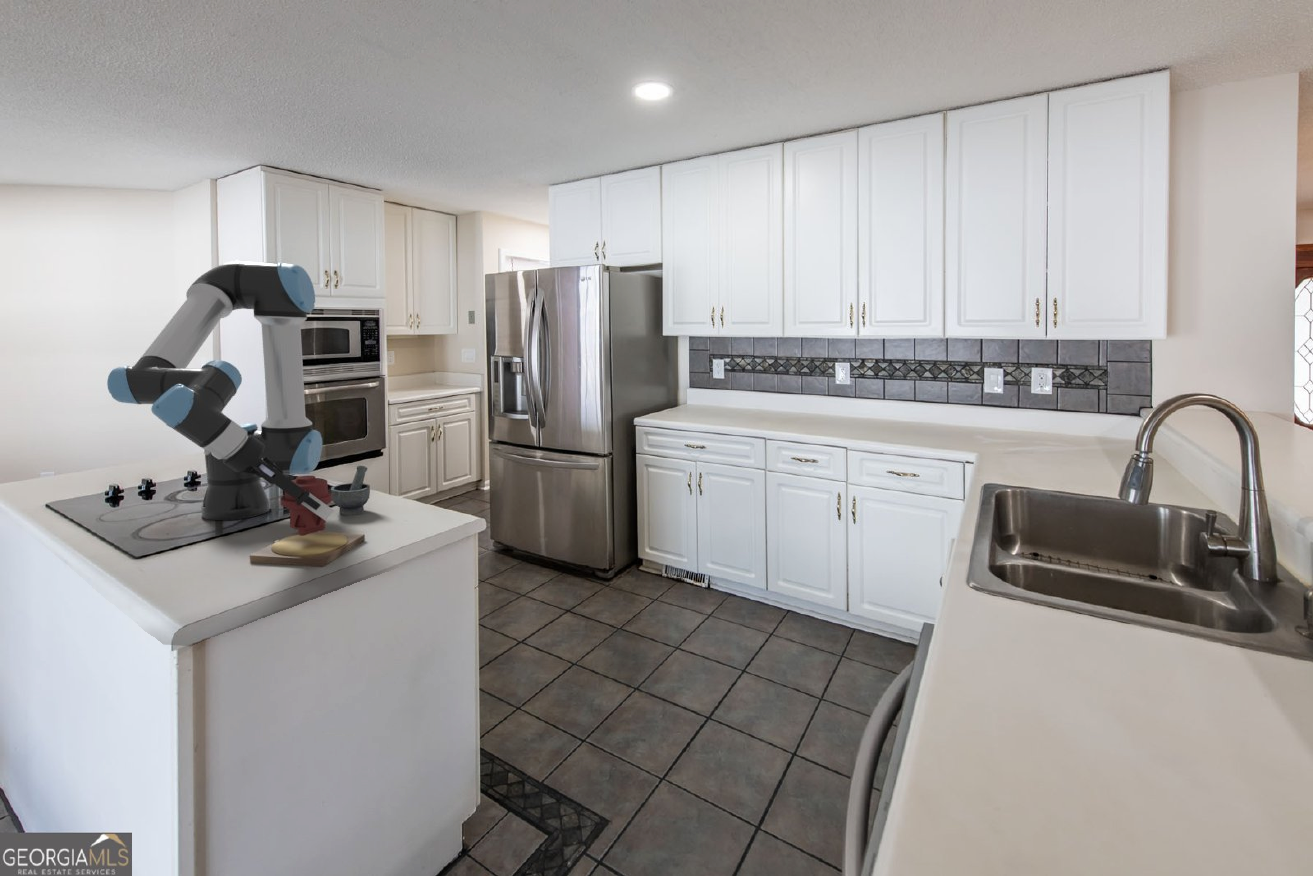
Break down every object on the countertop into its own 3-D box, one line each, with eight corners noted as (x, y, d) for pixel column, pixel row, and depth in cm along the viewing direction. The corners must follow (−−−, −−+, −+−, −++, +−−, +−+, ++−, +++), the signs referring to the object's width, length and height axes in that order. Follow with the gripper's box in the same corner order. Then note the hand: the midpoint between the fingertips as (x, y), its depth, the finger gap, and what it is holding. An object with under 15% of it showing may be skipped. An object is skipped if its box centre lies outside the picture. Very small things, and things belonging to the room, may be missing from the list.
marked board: (299, 536, 151) (299, 529, 151) (364, 540, 150) (364, 533, 150) (249, 562, 134) (249, 553, 134) (322, 566, 134) (322, 558, 133)
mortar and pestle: (355, 518, 166) (353, 474, 164) (323, 515, 168) (321, 471, 166) (381, 507, 177) (380, 465, 175) (351, 504, 179) (350, 462, 177)
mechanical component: (300, 541, 135) (272, 532, 139) (343, 529, 143) (315, 522, 148) (298, 485, 133) (269, 478, 137) (341, 476, 141) (312, 470, 146)
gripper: (212, 452, 137) (298, 511, 150) (229, 471, 120) (324, 536, 133) (240, 426, 139) (321, 486, 152) (260, 441, 123) (350, 508, 135)
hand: (322, 509), depth 143 cm, fingers closed on mechanical component, 10 cm apart
